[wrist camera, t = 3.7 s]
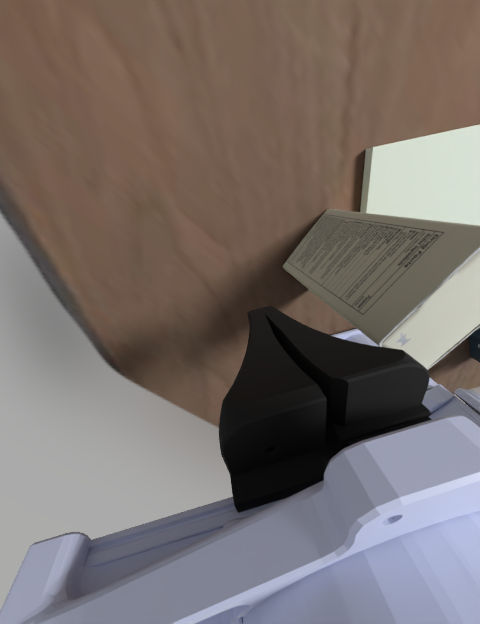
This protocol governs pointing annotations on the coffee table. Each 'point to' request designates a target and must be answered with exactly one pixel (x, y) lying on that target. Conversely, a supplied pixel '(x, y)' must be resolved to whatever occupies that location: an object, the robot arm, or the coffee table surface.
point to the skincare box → (395, 278)
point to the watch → (475, 344)
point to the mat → (425, 178)
